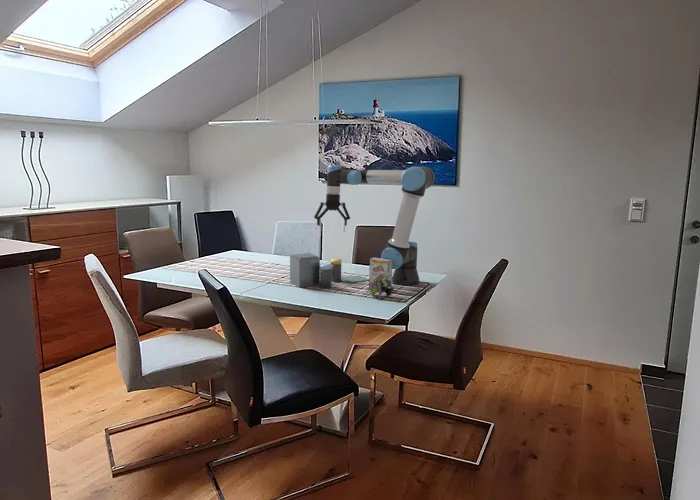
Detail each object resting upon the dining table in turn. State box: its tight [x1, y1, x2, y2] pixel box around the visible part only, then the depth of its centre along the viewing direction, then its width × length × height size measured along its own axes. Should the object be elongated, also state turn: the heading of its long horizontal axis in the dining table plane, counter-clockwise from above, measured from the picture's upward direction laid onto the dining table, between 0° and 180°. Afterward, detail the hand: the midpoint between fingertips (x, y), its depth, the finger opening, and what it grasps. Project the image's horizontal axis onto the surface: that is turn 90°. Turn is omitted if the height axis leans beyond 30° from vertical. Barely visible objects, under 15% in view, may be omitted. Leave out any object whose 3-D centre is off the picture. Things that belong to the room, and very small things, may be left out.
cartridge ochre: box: [329, 258, 343, 283], centre depth 285 cm, size 6×6×12 cm
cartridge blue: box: [319, 263, 332, 289], centre depth 272 cm, size 6×6×12 cm
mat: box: [341, 274, 369, 284], centre depth 290 cm, size 12×12×1 cm
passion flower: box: [367, 279, 397, 299], centre depth 254 cm, size 11×11×12 cm
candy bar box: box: [368, 257, 393, 292], centre depth 267 cm, size 11×5×16 cm, turn 59°
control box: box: [289, 252, 321, 288], centre depth 278 cm, size 12×12×16 cm
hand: (331, 231), depth 290 cm, fingers open, 13 cm apart
